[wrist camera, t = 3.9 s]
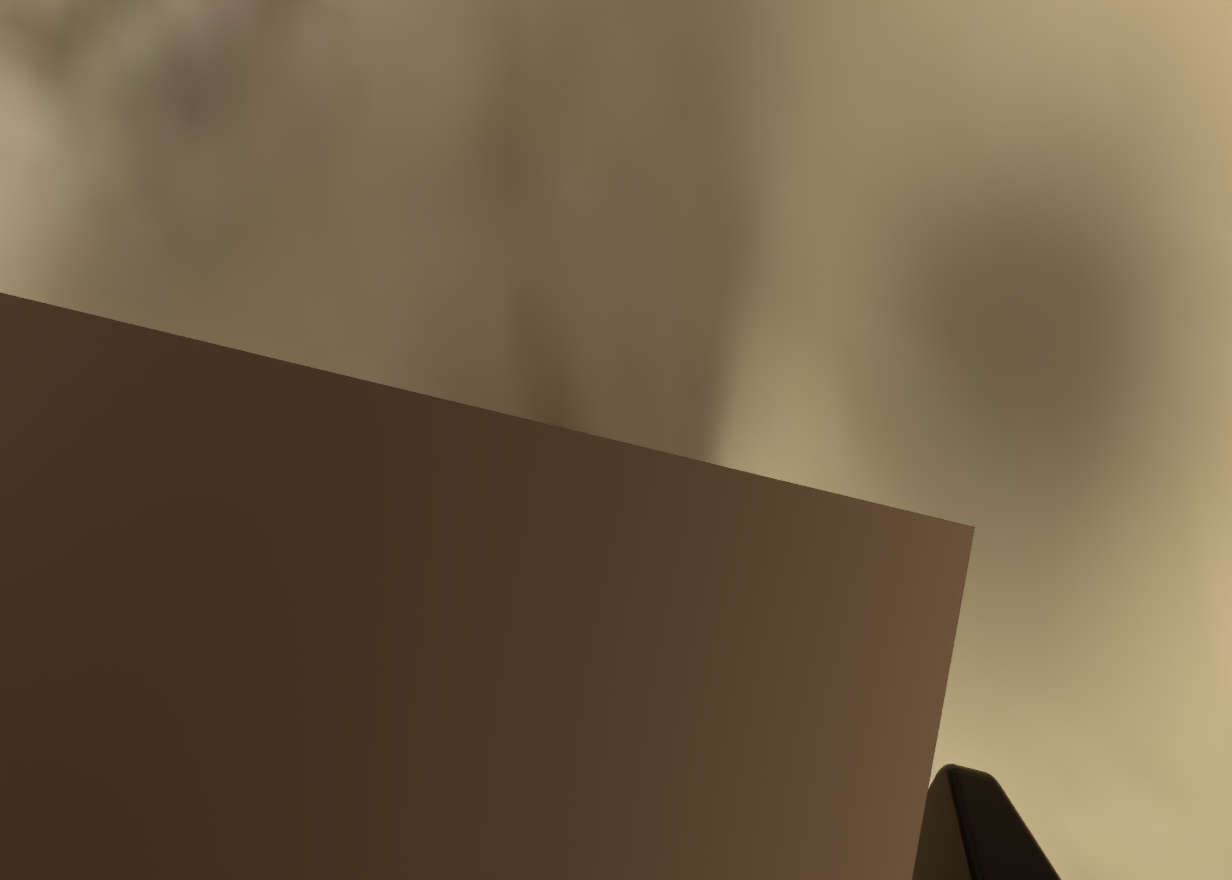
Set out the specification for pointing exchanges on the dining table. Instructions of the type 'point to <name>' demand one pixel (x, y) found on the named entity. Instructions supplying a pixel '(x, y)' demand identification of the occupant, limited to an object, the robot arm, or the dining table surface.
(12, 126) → the dining table surface
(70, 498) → the walnut block
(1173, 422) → the dining table surface
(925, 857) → the robot arm
